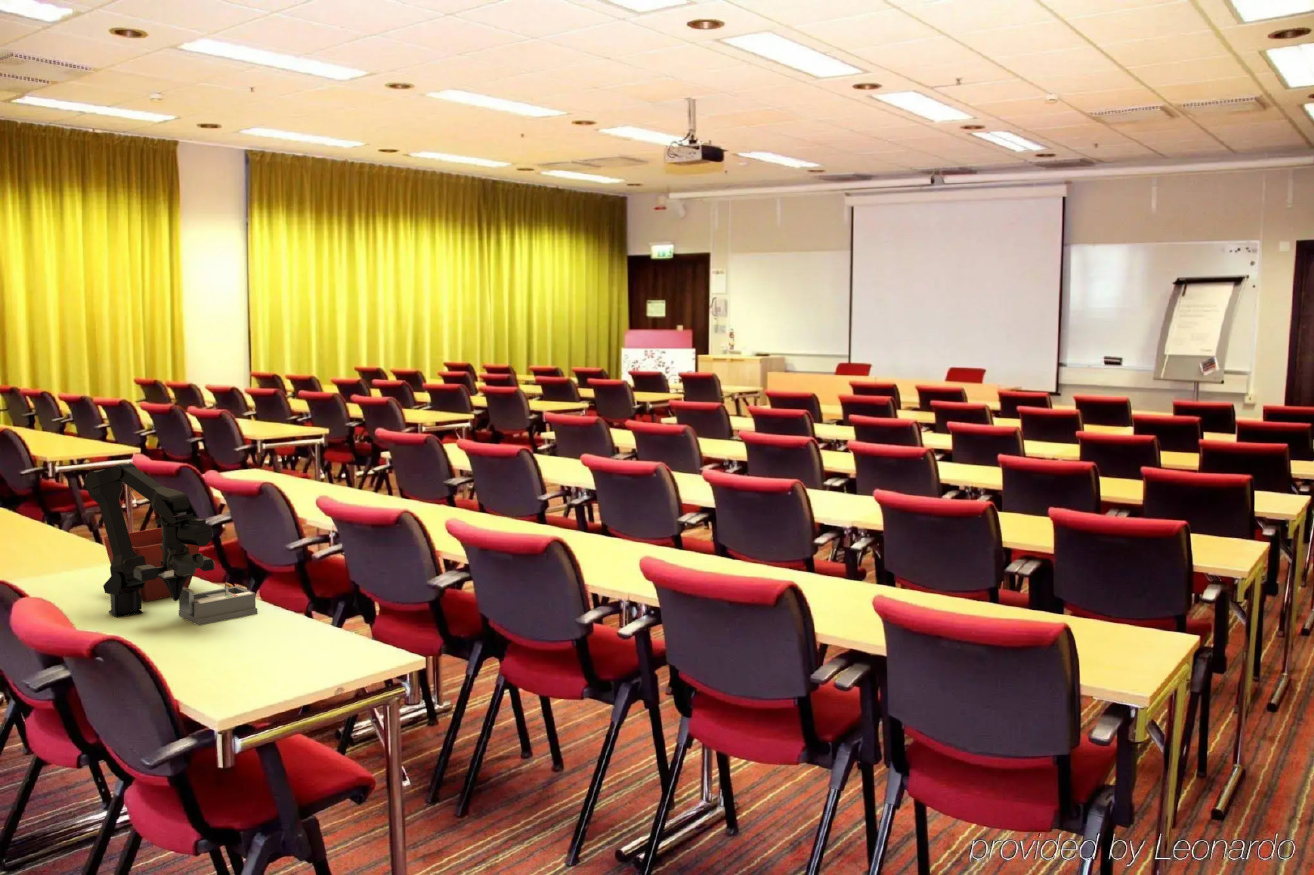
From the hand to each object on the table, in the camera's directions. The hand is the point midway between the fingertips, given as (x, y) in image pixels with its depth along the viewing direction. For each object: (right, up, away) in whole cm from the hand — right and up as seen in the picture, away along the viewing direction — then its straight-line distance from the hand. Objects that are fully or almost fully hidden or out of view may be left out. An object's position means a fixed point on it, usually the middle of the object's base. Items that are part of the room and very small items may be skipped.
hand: (175, 600), depth 271 cm
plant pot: (-18, -3, +26) cm, 32 cm away
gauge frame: (+7, -5, +9) cm, 13 cm away
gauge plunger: (+7, -4, +6) cm, 10 cm away
